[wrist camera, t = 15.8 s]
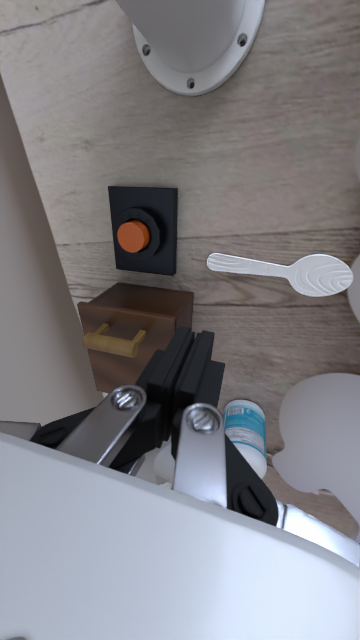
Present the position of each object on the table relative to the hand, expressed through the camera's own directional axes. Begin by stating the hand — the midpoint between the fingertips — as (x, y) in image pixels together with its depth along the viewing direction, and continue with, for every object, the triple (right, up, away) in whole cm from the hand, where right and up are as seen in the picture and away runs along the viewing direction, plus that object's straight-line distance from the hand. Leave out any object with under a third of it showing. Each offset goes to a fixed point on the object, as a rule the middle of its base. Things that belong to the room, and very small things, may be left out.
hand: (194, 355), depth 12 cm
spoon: (+12, +8, +21) cm, 25 cm away
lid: (-7, -3, +22) cm, 24 cm away
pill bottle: (+11, -15, +34) cm, 39 cm away
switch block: (-5, +14, +23) cm, 28 cm away
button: (-6, +13, +20) cm, 25 cm away
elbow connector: (+1, -28, +44) cm, 52 cm away
